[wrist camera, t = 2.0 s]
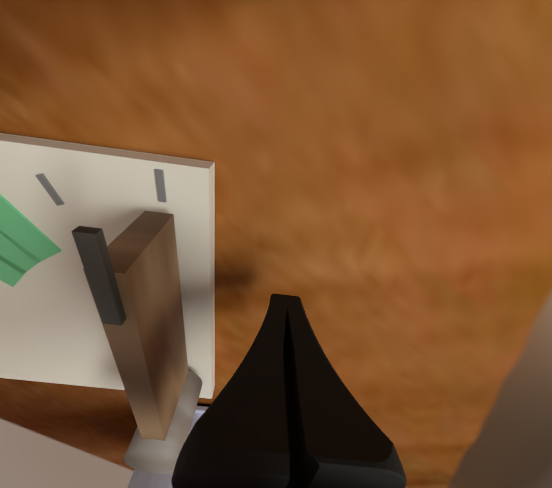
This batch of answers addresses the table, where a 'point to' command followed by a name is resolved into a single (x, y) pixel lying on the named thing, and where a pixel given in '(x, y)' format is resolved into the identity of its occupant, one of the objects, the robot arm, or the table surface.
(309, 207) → the table surface
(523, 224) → the table surface
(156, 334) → the tuning lever
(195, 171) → the tuner dial board
